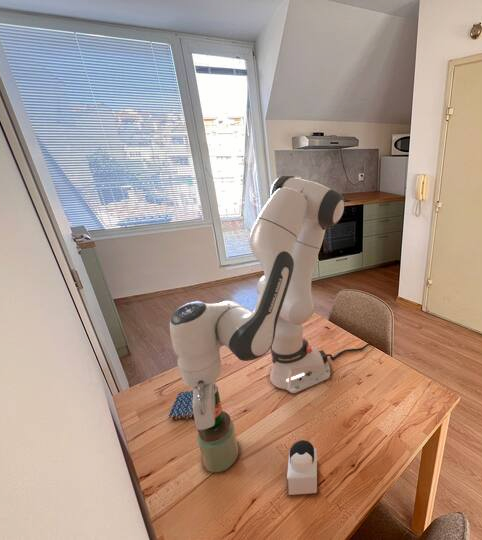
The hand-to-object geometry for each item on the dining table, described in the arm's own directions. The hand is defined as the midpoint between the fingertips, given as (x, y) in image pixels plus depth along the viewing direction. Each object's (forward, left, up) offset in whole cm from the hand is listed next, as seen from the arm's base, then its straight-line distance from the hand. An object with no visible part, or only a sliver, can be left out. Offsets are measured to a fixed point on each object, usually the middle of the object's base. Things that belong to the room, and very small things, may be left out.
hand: (211, 409), depth 74 cm
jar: (0, 0, -18) cm, 18 cm away
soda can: (0, 0, -5) cm, 5 cm away
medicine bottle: (-20, +14, -18) cm, 31 cm away
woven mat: (+9, -21, -18) cm, 29 cm away
